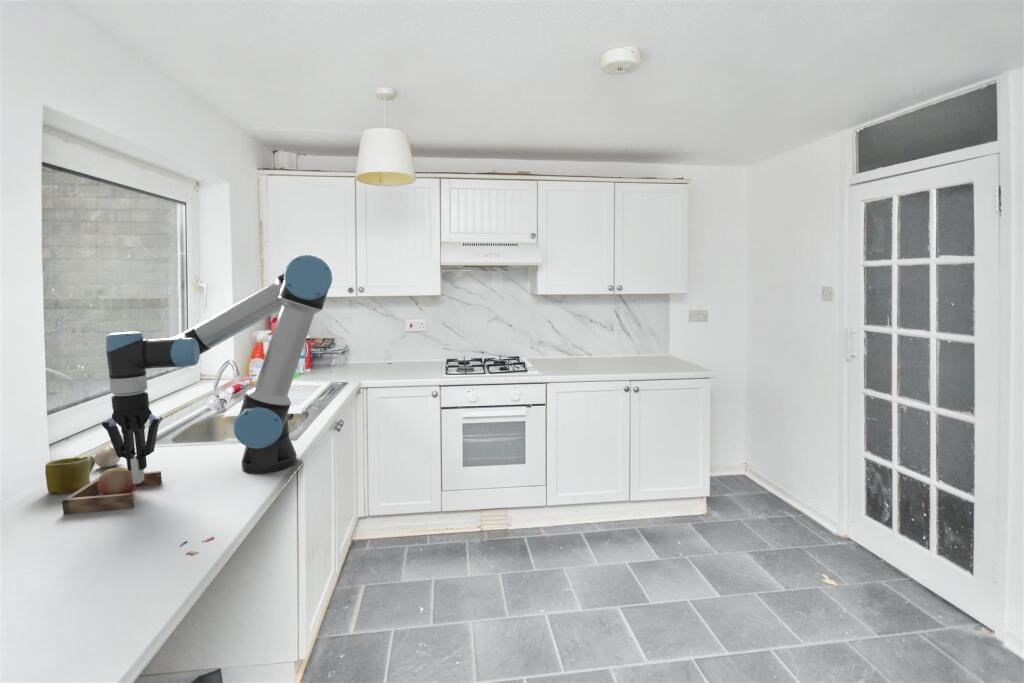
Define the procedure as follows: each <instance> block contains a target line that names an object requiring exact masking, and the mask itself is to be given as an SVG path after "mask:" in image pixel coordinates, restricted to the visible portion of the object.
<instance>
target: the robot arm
mask: <svg viewBox="0 0 1024 683" xmlns="http://www.w3.org/2000/svg"><path fill="white" fill-rule="evenodd" d="M332 283H333V274H332V271H331V268H330V267H329V265H328V264H327V263H326V262H325V261H324V260H323V259H322V258H320V257H317V256H314V255H312V254H311V255H310V254H309V255H307V254H305V255H300V256H296V257H295V258H293V259H292V260H291V261H290V262H288V264H287V265H286V267H285V269H284V272H283V273H282V274H280V275H278V276H277V277H276V280H275V282H273V283H272V284H269V285H268V286H266V287H264V288H263V289H262V288H261V289H260V290H259V291H257V292H255V293H253V294H251V295H249V296H248V297H246V298H244V299H242V300H240V301H239V302H237V303H235V304H233V305H231V306H229V307H227V308H226V309H223V310H222V311H220V312H218V313H216V314H215V315H213V316H211V317H209V318H207V319H206V320H204V321H202V322H200V323H198V324H196V325H195V326H193V327H191V328H189V329H187V330H185V331H183V332H182V333H179V334H177V335H176V336H171V337H169V338H155V339H148V338H147V339H146V338H144V337H143V333H142V332H140V331H123V332H112V333H109V334H108V335H107V336H106V337H105V345H106V346H105V349H106V351H105V354H106V359H107V360H106V361H107V368H108V374H109V375H108V377H109V387H110V394H112V396H111V406H112V408H111V409H112V410H113V411H112V414H111V417H110V418H109V419H107V420H105V421H103V422H102V423H101V426H102V427H103V428H104V430H106V431H107V434H108V436H109V439H110V441H111V442H112V444H113V447H114V449H115V452H116V454H117V456H118V457H121V458H124V459H125V460H126V466H127V467H126V468H127V469H128V471H132V481H133V484H138V483H141V482H142V481H143V480H144V471H145V469H146V468H147V466H148V464H147V463H148V462H147V456H150V455H151V454H152V453H154V452H155V446H156V442H157V441H156V440H157V435H158V430H159V425H160V424H161V423H162V421H163V417H162V416H156V415H154V414H153V413H152V410H151V408H150V401H149V400H150V399H149V393H148V391H147V390H148V382H147V371H146V370H147V369H161V368H185V367H193V366H196V365H197V364H198V363H199V360H200V358H201V357H200V356H201V355H202V354H204V353H206V352H207V351H209V350H211V349H212V348H214V347H216V346H218V345H221V344H222V343H224V342H225V341H227V340H229V339H231V338H232V337H234V336H236V335H237V334H239V333H241V332H243V331H245V330H247V329H248V328H250V327H252V326H254V325H255V324H258V323H259V322H261V321H263V320H265V319H266V318H269V317H270V316H272V315H273V314H275V313H278V316H277V319H276V322H275V326H274V328H273V332H272V335H271V338H270V340H269V343H268V346H267V350H266V352H265V356H264V358H263V362H262V365H261V367H260V370H259V373H258V376H257V380H256V383H255V386H253V388H251V389H250V390H247V391H246V392H245V393H244V394H243V400H242V401H243V402H242V404H241V408H240V411H239V414H238V415H237V417H235V420H234V422H233V432H234V435H235V437H236V439H237V440H238V441H239V443H241V444H242V445H244V446H245V447H244V451H243V456H242V458H241V470H242V471H244V472H246V473H250V474H263V473H264V474H266V473H273V472H278V471H281V470H284V469H285V470H286V469H287V468H290V467H292V466H294V465H295V464H296V463H297V461H298V459H297V458H298V457H297V456H298V455H297V452H296V450H295V448H294V445H293V442H292V441H291V438H290V427H289V415H288V414H289V410H290V406H291V405H292V401H291V399H290V398H289V392H290V389H291V385H292V383H293V380H294V377H295V373H296V371H297V368H298V364H299V362H300V359H301V356H302V353H303V349H304V346H305V343H306V340H307V338H308V334H309V332H310V329H311V325H312V324H313V323H312V322H313V319H314V317H315V315H316V314H318V313H319V312H321V311H322V310H323V307H324V305H325V303H326V302H325V301H326V299H327V296H328V293H329V290H330V288H331V285H332ZM147 422H148V424H149V426H148V431H147V436H146V435H145V429H146V424H147ZM117 425H118V426H119V427H120V428H121V431H120V429H119V427H118V426H117ZM121 434H122V436H121ZM111 442H110V443H111Z"/></svg>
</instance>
